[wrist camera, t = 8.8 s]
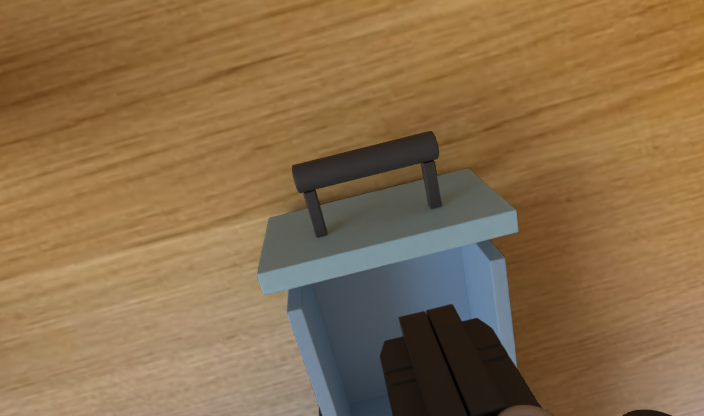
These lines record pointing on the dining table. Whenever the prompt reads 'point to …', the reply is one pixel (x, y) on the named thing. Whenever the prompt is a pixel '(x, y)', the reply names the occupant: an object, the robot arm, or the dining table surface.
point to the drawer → (383, 264)
